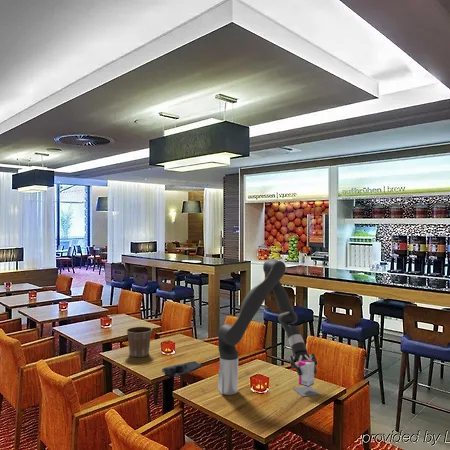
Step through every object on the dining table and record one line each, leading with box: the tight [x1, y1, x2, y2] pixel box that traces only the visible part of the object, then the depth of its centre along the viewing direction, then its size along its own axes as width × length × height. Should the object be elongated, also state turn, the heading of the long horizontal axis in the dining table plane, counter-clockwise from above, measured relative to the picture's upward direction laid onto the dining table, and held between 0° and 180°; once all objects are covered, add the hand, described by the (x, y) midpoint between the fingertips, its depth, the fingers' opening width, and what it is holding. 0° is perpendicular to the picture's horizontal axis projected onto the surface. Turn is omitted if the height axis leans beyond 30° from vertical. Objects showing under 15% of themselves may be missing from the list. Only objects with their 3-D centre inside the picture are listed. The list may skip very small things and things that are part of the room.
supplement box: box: [298, 360, 315, 387], centre depth 206 cm, size 6×6×12 cm
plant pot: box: [125, 326, 153, 358], centre depth 260 cm, size 16×16×16 cm
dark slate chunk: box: [161, 360, 202, 378], centre depth 234 cm, size 15×22×5 cm
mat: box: [292, 385, 321, 398], centre depth 206 cm, size 10×10×1 cm
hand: (308, 374), depth 205 cm, fingers closed on supplement box, 7 cm apart
